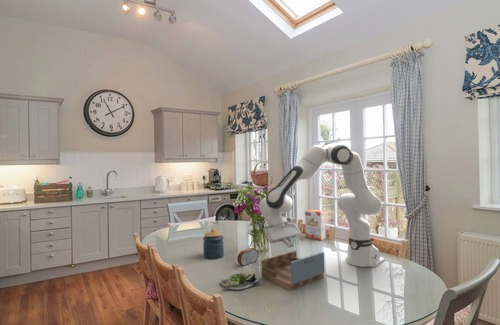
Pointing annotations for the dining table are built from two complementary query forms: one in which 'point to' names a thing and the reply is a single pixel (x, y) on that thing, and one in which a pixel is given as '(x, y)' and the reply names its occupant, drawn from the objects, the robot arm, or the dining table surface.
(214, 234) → the canister
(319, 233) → the cracker box
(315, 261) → the panel
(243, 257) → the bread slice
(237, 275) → the salad plate
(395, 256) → the dining table surface
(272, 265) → the wooden tray box
